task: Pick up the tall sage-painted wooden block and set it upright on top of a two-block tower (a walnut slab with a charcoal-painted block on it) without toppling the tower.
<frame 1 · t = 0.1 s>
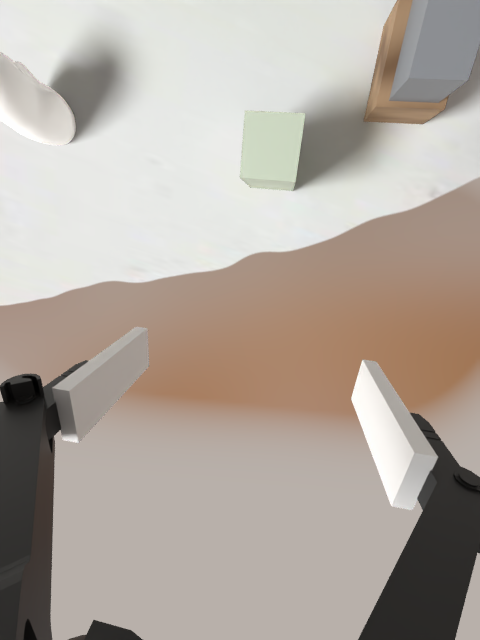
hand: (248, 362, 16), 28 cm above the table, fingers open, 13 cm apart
figurine: (59, 119, 39), on the table
sage block: (274, 165, 37), on the table
tower top: (426, 53, 27), point 5 cm above the table
tower base: (403, 77, 32), on the table
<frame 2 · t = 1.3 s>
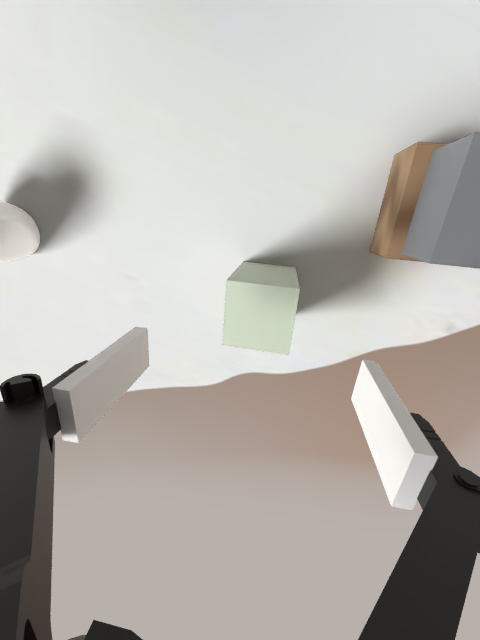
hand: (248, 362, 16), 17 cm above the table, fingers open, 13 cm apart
figurine: (21, 228, 34), on the table
sage block: (266, 289, 32), on the table
tower top: (447, 208, 22), point 5 cm above the table, touching tower base
tower base: (417, 209, 27), on the table, touching tower top
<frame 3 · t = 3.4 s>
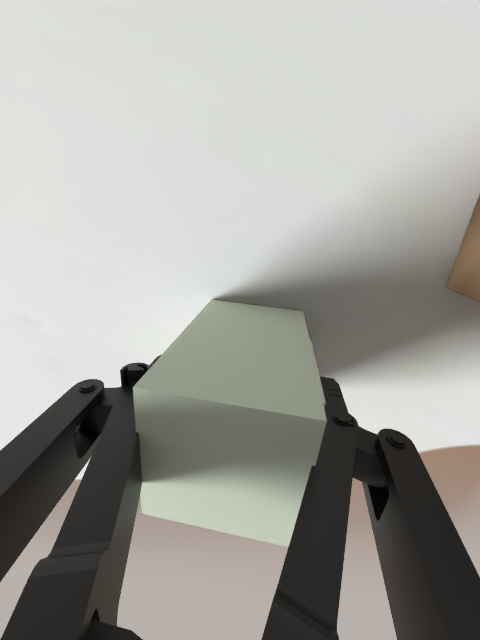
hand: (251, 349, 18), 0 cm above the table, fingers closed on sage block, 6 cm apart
sage block: (252, 346, 18), on the table, touching gripper
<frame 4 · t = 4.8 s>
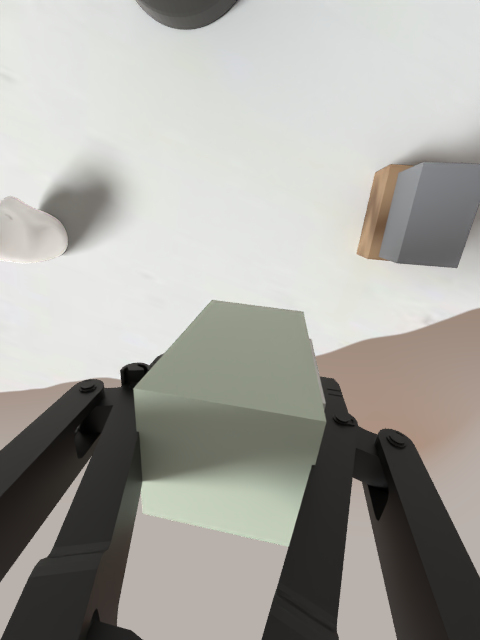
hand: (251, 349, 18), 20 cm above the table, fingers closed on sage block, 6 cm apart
figurine: (51, 233, 39), on the table
sage block: (252, 346, 18), point 19 cm above the table, touching gripper
tower top: (414, 218, 27), point 5 cm above the table, touching tower base
tower base: (395, 217, 32), on the table, touching tower top
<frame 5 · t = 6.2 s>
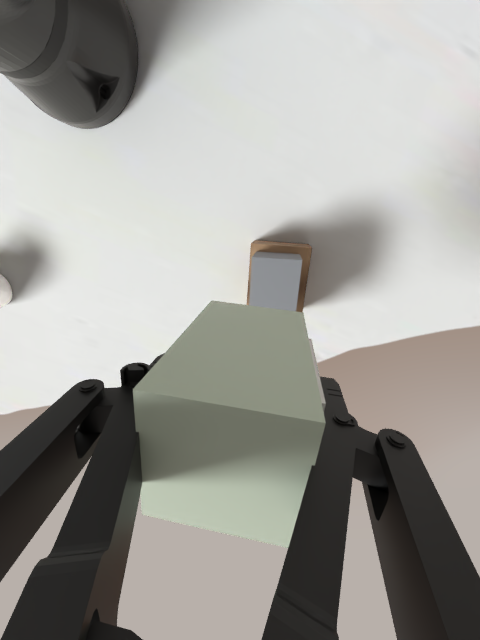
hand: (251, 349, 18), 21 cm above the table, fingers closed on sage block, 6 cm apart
sage block: (251, 347, 18), point 20 cm above the table, touching gripper
tower top: (274, 286, 33), point 5 cm above the table, touching tower base
tower base: (277, 275, 37), on the table, touching tower top
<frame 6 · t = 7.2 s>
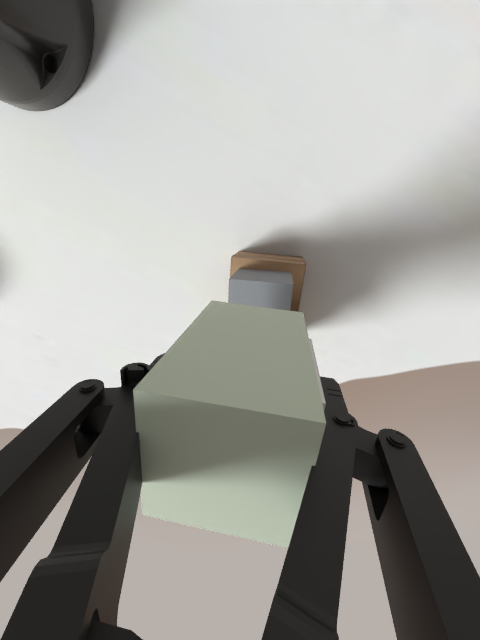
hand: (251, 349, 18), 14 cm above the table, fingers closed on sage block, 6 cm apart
sage block: (252, 347, 18), point 14 cm above the table, touching gripper
tower top: (261, 309, 27), point 5 cm above the table, touching tower base
tower base: (265, 293, 31), on the table, touching tower top
when the fingers open (11 cm above the table, at t = 8.3 s): sage block drops 1 cm, resting on tower top.
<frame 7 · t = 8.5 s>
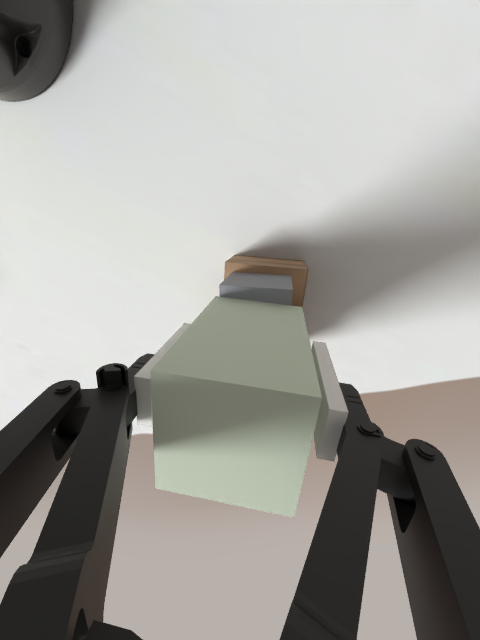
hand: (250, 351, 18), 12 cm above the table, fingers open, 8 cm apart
sage block: (253, 340, 20), point 10 cm above the table, touching tower top
tower top: (259, 317, 24), point 5 cm above the table, touching sage block
tower base: (264, 300, 29), on the table
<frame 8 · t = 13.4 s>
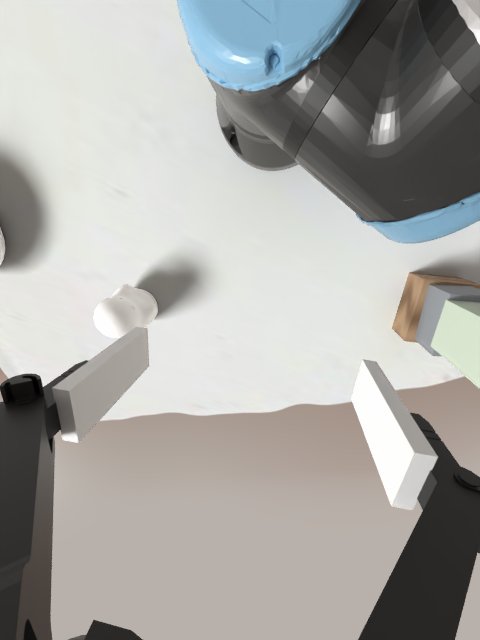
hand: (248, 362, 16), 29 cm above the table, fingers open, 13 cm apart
figurine: (143, 303, 48), on the table
sage block: (465, 326, 32), point 10 cm above the table, touching tower top
tower top: (441, 313, 36), point 5 cm above the table, touching sage block, tower base
tower base: (423, 303, 41), on the table, touching tower top
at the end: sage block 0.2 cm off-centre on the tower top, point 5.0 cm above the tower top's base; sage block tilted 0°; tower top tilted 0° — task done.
